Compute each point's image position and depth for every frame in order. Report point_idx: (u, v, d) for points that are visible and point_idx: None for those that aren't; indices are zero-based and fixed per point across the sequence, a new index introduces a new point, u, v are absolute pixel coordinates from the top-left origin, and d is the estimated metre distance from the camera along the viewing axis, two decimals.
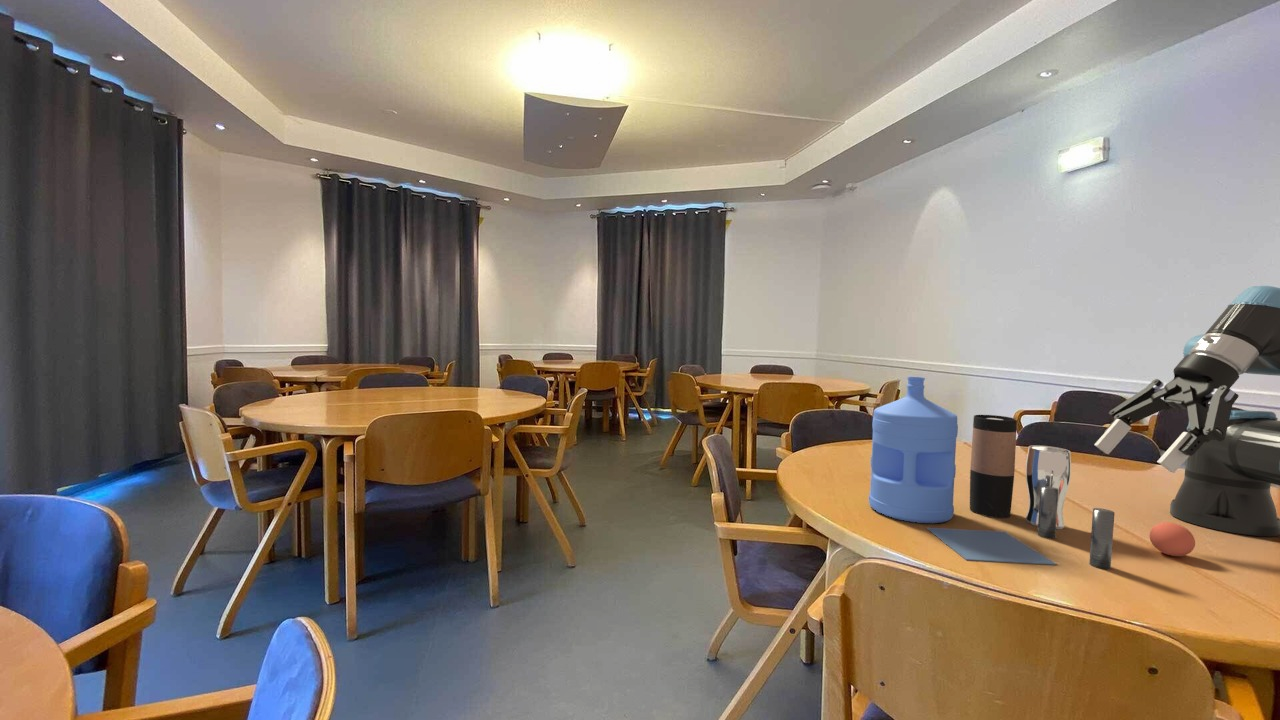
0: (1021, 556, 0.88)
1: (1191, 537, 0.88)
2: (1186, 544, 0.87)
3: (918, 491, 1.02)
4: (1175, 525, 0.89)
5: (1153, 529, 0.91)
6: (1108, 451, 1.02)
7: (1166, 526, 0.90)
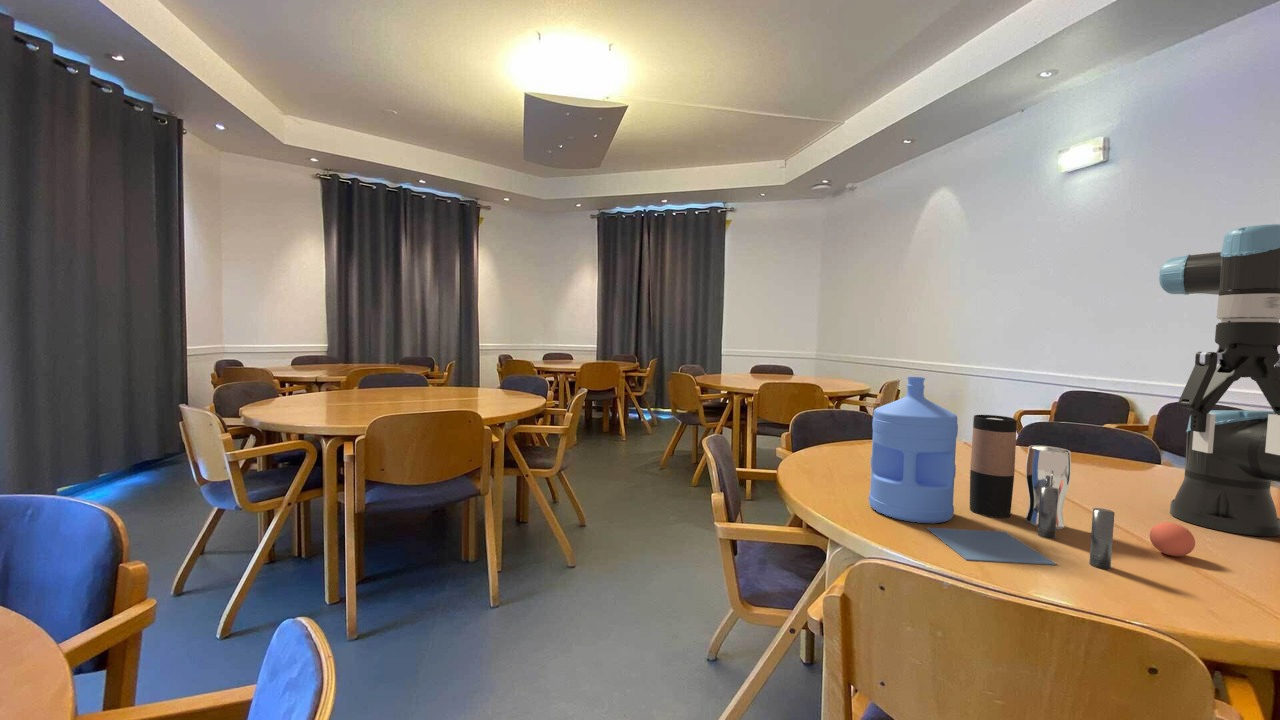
0: (1021, 556, 0.88)
1: (1191, 537, 0.88)
2: (1186, 544, 0.87)
3: (918, 491, 1.02)
4: (1175, 525, 0.89)
5: (1153, 529, 0.91)
6: None
7: (1166, 526, 0.90)
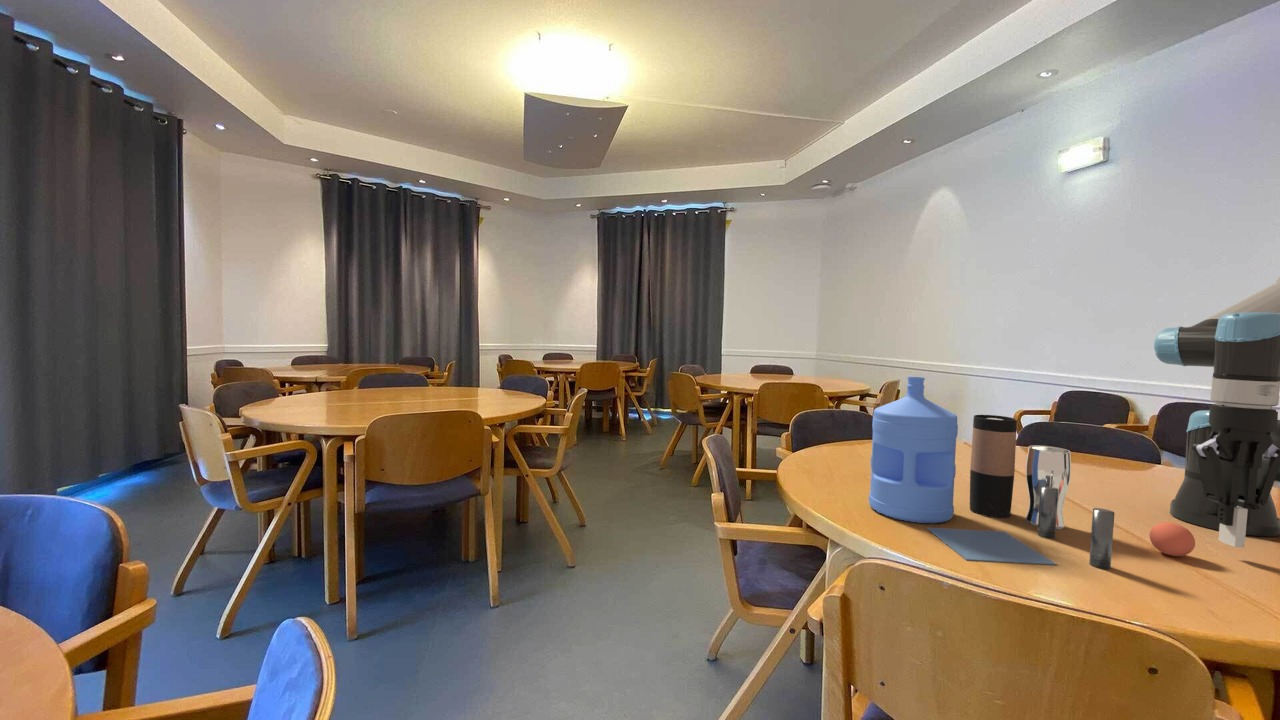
0: (1021, 556, 0.88)
1: (1191, 537, 0.88)
2: (1186, 544, 0.87)
3: (918, 491, 1.02)
4: (1175, 525, 0.89)
5: (1153, 529, 0.91)
6: None
7: (1166, 526, 0.90)
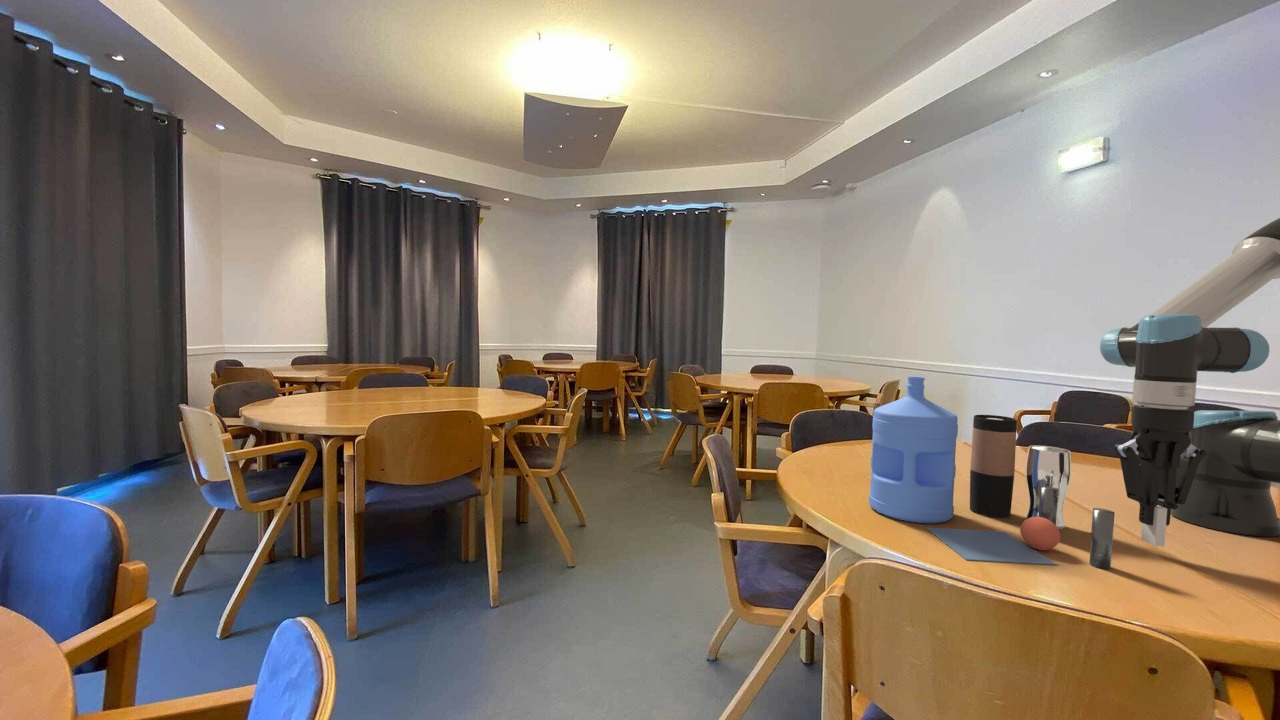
0: (1021, 556, 0.88)
1: (1043, 530, 0.89)
2: (1049, 539, 0.89)
3: (918, 491, 1.02)
4: (1027, 532, 0.91)
5: (1025, 541, 0.93)
6: None
7: (1025, 538, 0.91)
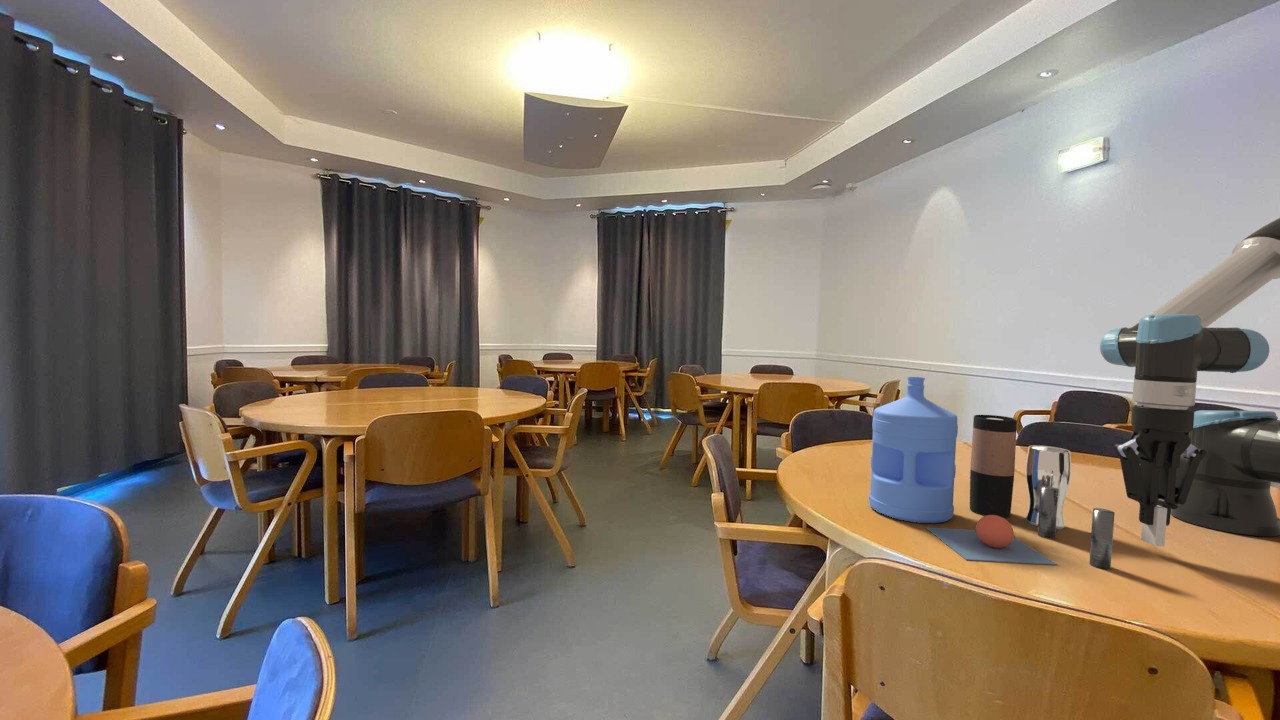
0: (1021, 556, 0.88)
1: (1004, 545, 0.90)
2: (1005, 537, 0.89)
3: (918, 491, 1.02)
4: None
5: None
6: None
7: None
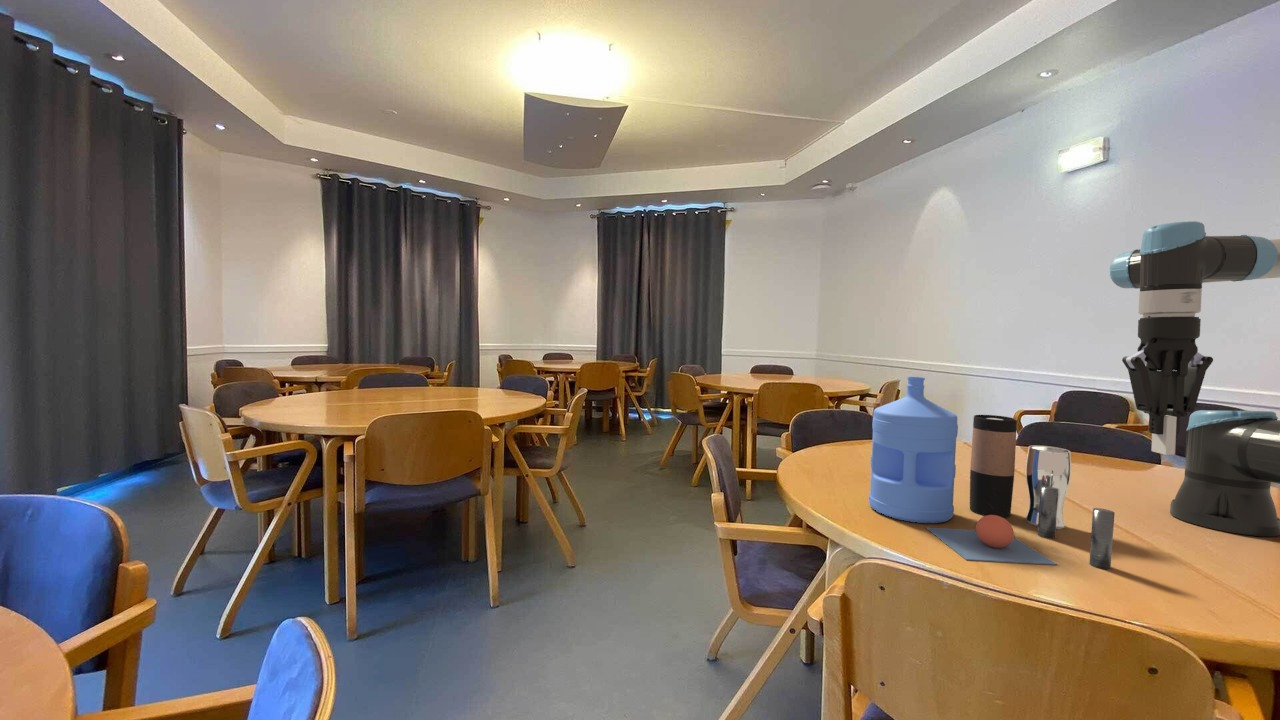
0: (1021, 556, 0.88)
1: (1004, 545, 0.90)
2: (1005, 537, 0.89)
3: (918, 491, 1.02)
4: None
5: None
6: None
7: None
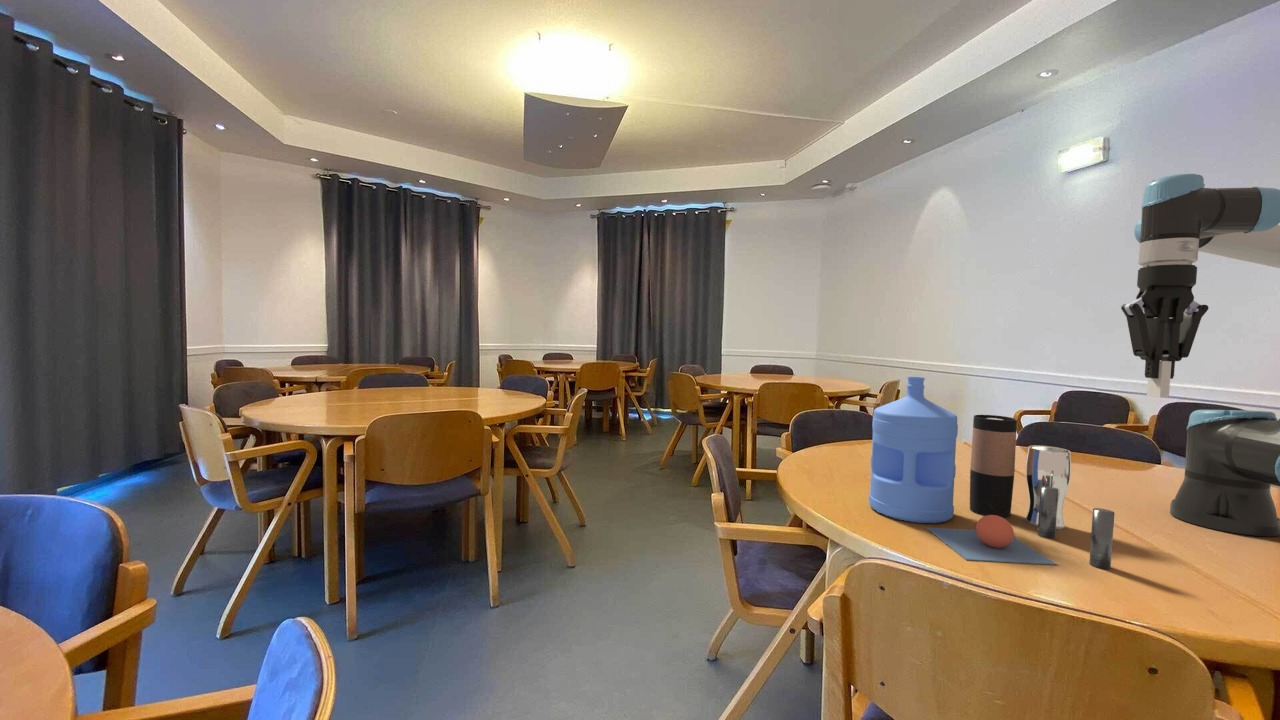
0: (1021, 556, 0.88)
1: (1004, 545, 0.90)
2: (1005, 537, 0.89)
3: (918, 491, 1.02)
4: None
5: None
6: None
7: None
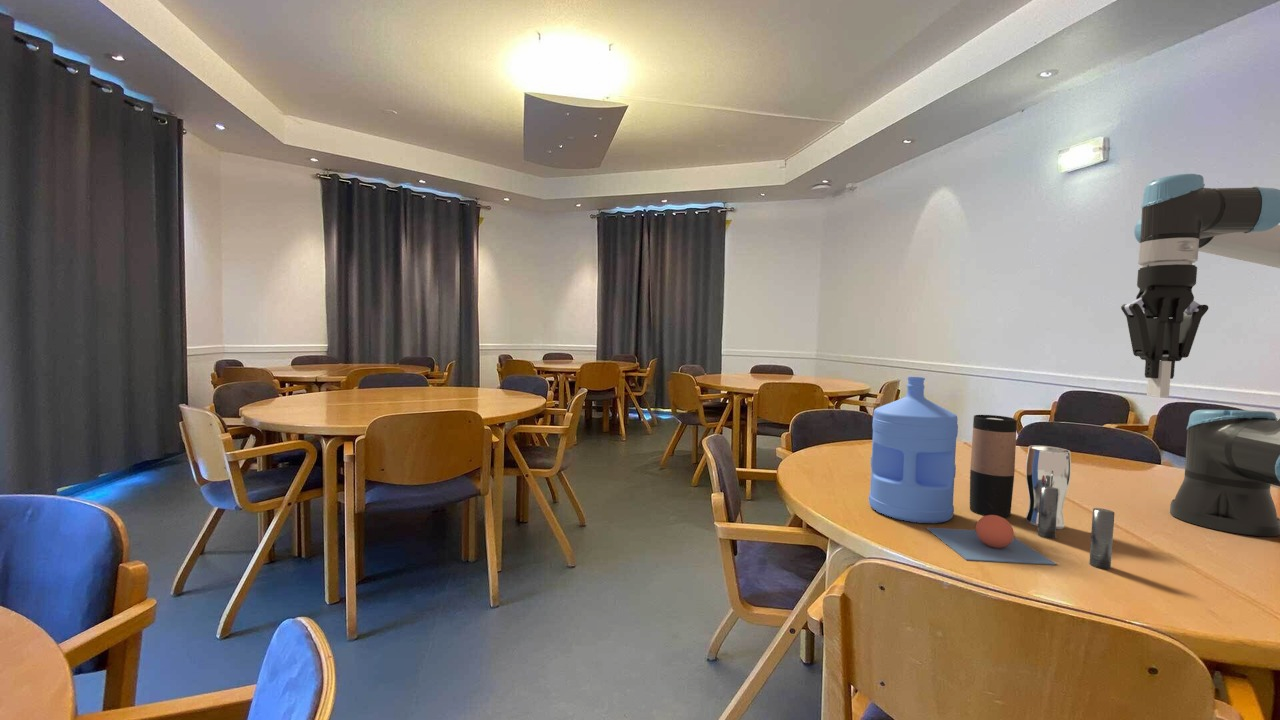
0: (1021, 556, 0.88)
1: (1004, 545, 0.90)
2: (1005, 537, 0.89)
3: (918, 491, 1.02)
4: None
5: None
6: None
7: None
